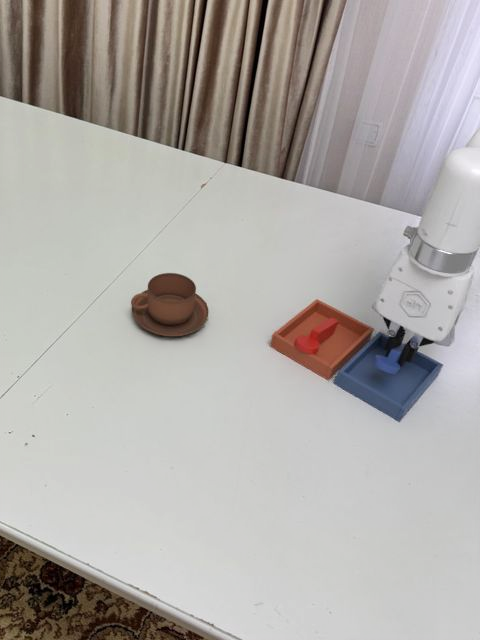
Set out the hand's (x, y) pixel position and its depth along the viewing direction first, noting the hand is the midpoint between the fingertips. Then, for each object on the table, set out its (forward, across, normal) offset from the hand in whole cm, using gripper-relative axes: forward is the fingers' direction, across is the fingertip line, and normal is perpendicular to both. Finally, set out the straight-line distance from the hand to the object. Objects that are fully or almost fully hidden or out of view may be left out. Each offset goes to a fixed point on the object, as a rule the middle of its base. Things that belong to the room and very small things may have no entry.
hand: (397, 358), depth 89 cm
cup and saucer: (+4, -32, -14) cm, 35 cm away
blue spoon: (0, 0, -2) cm, 2 cm away
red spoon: (+2, -11, -3) cm, 12 cm away
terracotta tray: (+4, -11, -1) cm, 12 cm away
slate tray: (+3, 0, -1) cm, 4 cm away
